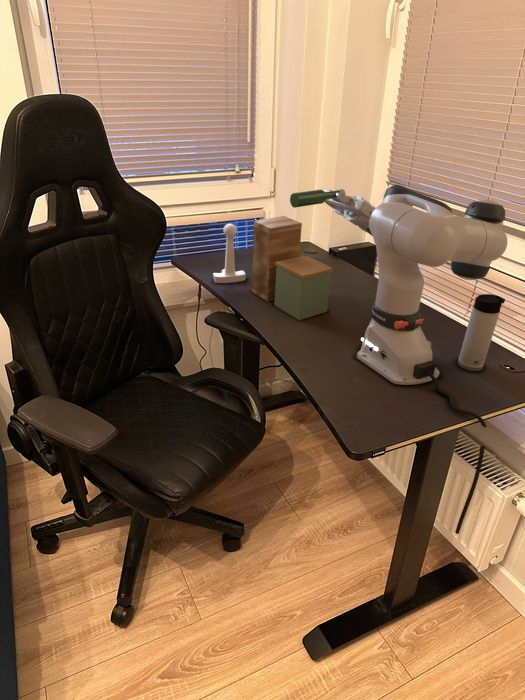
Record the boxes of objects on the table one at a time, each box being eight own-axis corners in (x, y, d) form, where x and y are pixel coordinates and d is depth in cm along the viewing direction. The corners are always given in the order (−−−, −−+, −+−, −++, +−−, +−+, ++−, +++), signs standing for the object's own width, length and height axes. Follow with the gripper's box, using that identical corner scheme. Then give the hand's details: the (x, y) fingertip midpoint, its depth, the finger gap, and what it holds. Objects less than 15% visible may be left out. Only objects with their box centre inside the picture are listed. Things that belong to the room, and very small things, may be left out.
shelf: (296, 293, 169) (302, 223, 157) (267, 301, 163) (271, 228, 151) (280, 284, 175) (284, 216, 163) (251, 291, 169) (253, 220, 157)
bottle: (298, 209, 157) (299, 194, 155) (289, 205, 160) (290, 191, 158) (346, 201, 167) (347, 188, 165) (337, 198, 170) (338, 185, 168)
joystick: (215, 283, 174) (215, 226, 164) (210, 275, 180) (210, 220, 170) (246, 281, 177) (248, 224, 167) (240, 273, 183) (241, 218, 173)
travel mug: (479, 374, 130) (501, 304, 119) (454, 366, 133) (473, 296, 123) (486, 365, 134) (508, 296, 124) (462, 356, 137) (481, 288, 127)
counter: (328, 311, 158) (333, 268, 151) (298, 320, 152) (302, 275, 145) (301, 297, 167) (305, 255, 160) (272, 305, 161) (275, 261, 154)
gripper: (374, 226, 168) (350, 209, 159) (332, 211, 183) (308, 195, 173) (383, 208, 167) (360, 191, 158) (340, 195, 181) (317, 178, 172)
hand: (332, 193), depth 165 cm, fingers closed on bottle, 2 cm apart
